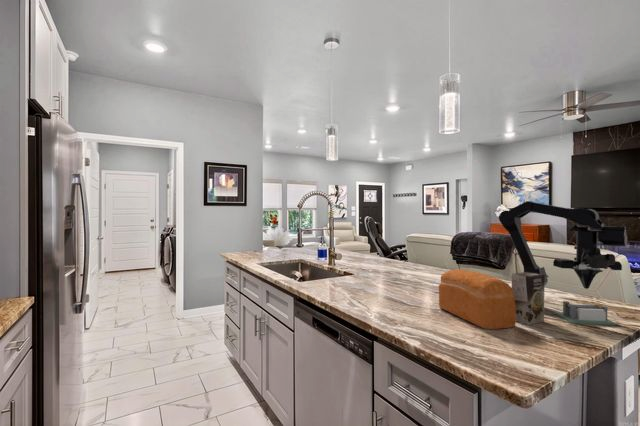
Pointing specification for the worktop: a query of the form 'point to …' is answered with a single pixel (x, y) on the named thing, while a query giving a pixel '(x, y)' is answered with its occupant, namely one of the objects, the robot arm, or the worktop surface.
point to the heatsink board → (573, 315)
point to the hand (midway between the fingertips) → (586, 288)
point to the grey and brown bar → (588, 306)
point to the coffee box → (528, 297)
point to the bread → (478, 299)
